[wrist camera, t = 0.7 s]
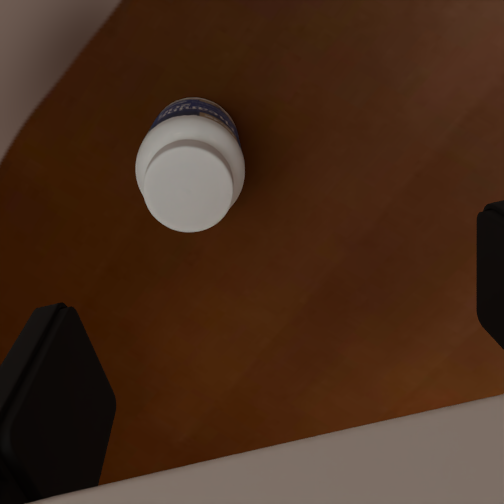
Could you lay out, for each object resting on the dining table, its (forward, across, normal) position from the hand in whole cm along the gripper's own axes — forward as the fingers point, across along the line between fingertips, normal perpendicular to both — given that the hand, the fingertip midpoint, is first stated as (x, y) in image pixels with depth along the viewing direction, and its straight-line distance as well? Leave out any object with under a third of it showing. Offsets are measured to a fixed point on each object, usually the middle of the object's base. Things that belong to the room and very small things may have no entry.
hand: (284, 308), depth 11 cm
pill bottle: (+21, +3, 0) cm, 21 cm away
